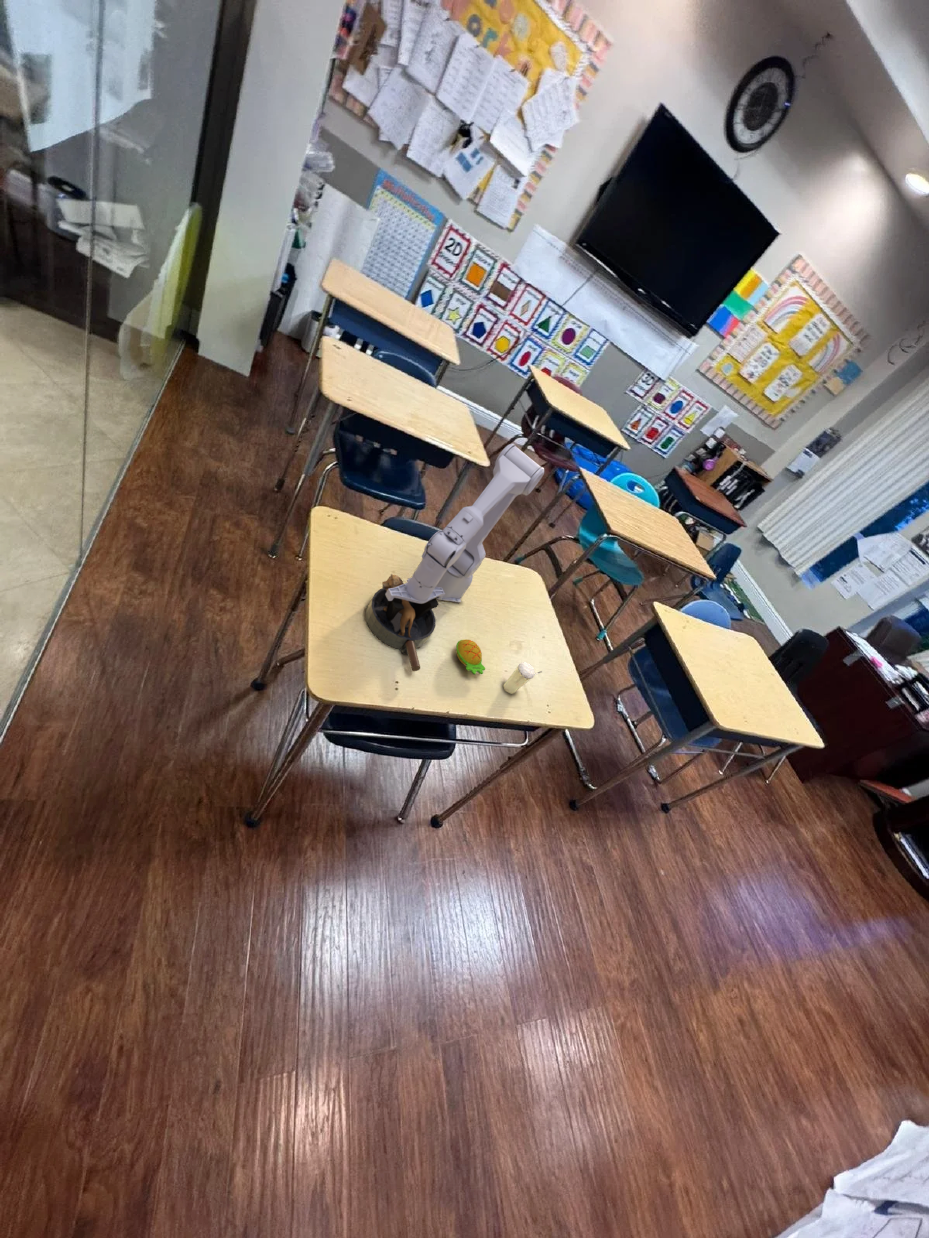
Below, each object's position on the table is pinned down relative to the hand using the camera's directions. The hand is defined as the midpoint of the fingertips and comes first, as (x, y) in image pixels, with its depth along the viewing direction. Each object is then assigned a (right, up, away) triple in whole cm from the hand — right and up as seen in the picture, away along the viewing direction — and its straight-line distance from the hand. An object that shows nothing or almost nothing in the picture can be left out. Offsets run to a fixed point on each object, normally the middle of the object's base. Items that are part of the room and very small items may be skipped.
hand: (401, 616), depth 122 cm
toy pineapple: (+15, -12, +4) cm, 19 cm away
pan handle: (+2, -11, -5) cm, 12 cm away
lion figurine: (-2, 0, +1) cm, 3 cm away
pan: (-1, -2, +1) cm, 2 cm away
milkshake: (+26, -18, +6) cm, 32 cm away
